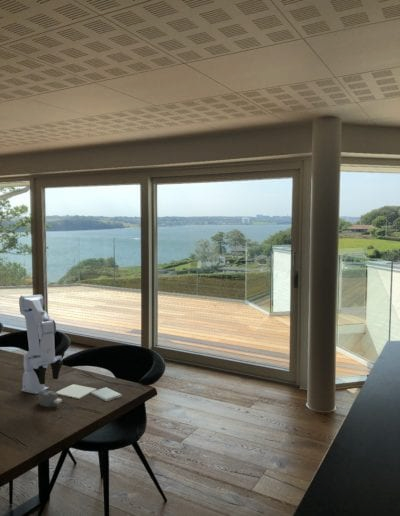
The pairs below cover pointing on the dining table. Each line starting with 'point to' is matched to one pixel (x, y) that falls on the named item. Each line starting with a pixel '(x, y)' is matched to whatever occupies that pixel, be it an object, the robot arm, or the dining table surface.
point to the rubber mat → (75, 391)
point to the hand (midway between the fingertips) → (48, 381)
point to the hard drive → (106, 394)
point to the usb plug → (48, 398)
